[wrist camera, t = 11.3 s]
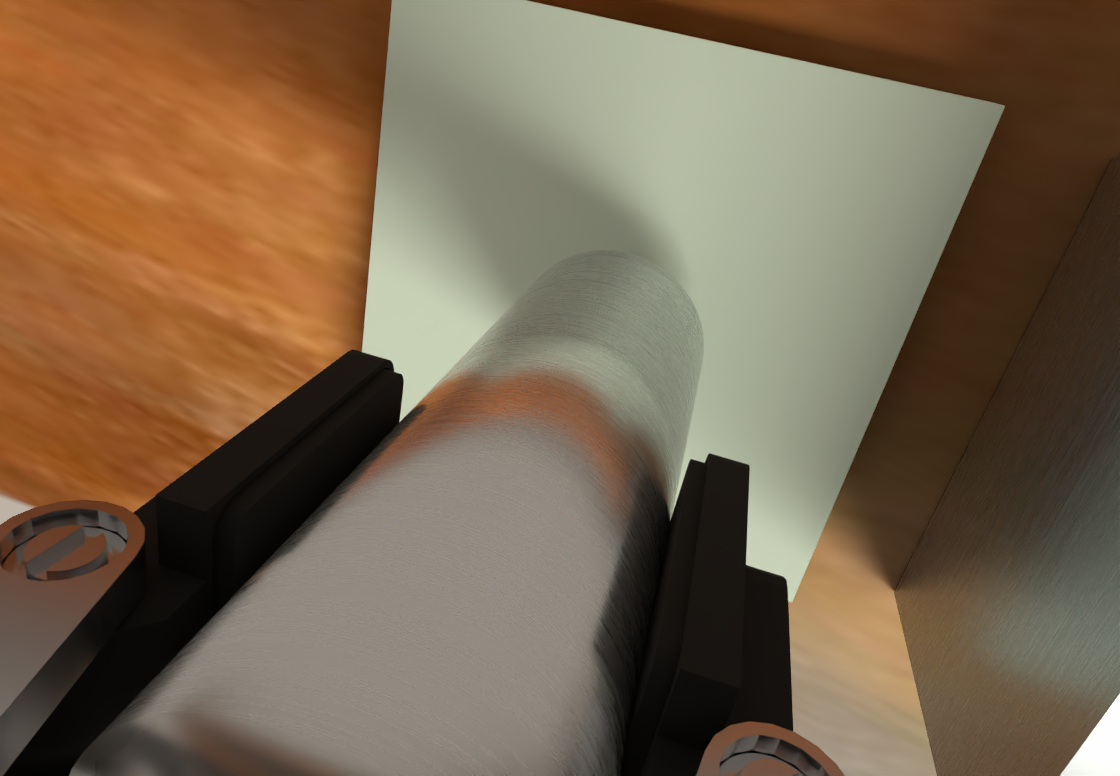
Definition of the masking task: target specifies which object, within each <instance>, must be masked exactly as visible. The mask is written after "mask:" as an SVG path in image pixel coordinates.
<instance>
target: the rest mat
mask: <svg viewBox="0 0 1120 776" xmlns="http://www.w3.org/2000/svg"><path fill="white" fill-rule="evenodd" d="M1004 108H1005V106H1004V105H1001V104H997V103H993V102H989V101H985V100H980V99H975V98H971V97H966V96H962V95H957V94H953V93H948V92H944V91H939V90H934V89H930V88H925V87H921V86H916V85H912V84H907V83H903V82H898V81H893V80H889V79H884V78H880V77H875V76H871V75H866V74H861V73H857V72H852V71H848V70H843V69H839V68H834V67H830V66H825V65H820V64H816V63H811V62H807V61H802V60H798V59H793V58H789V57H784V56H779V55H775V54H770V53H766V52H761V51H757V50H752V49H748V48H743V47H738V46H734V45H729V44H725V43H720V42H716V41H711V40H707V39H702V38H697V37H693V36H688V35H684V34H679V33H675V32H670V31H666V30H661V29H656V28H652V27H647V26H643V25H638V24H634V23H629V22H624V21H620V20H615V19H611V18H606V17H602V16H597V15H593V14H588V13H583V12H579V11H574V10H570V9H565V8H561V7H556V6H552V5H547V4H542V3H538V2H533V1H529V0H392V5H391V17H390V29H389V40H388V52H387V64H386V76H385V87H384V99H383V111H382V122H381V134H380V146H379V158H378V169H377V181H376V193H375V204H374V216H373V228H372V240H371V251H370V263H369V275H368V286H367V298H366V310H365V322H364V333H363V345H362V352H363V353H367V354H370V355H374V356H377V357H381V358H384V359H387V360H391V361H392V363H393V366H394V372H396V373H400V374H402V376H403V380H404V385H403V395H402V403H401V412H400V421H401V420H402V419H403V418H404V417H405V416H406V415H407V414H408V413H409V412H410V411H411V410H412V409H413V408H414V407H415V406H416V405H417V404H418V403H419V402H420V401H421V399H422V398H423V397H424V396H425V395H426V394H427V393H428V392H429V391H430V390H431V389H432V388H433V387H434V386H435V385H436V384H437V383H438V382H439V381H440V380H441V379H442V378H443V377H444V376H445V374H446V373H447V372H448V371H449V370H450V369H451V368H452V367H453V366H454V365H455V364H456V363H457V362H458V361H459V360H460V359H461V358H462V357H463V356H464V355H465V354H466V353H467V352H468V351H469V349H470V348H471V347H472V346H473V345H474V344H475V343H476V342H477V341H478V340H479V339H480V338H481V337H482V336H483V335H484V334H485V333H486V332H487V331H488V330H489V329H490V328H491V327H492V325H493V324H494V323H495V322H496V321H497V320H498V319H499V318H500V317H501V316H502V315H503V314H504V313H505V312H506V311H507V310H508V309H509V308H510V307H511V306H512V305H513V304H514V303H515V302H516V300H517V299H518V298H519V297H520V296H521V295H522V294H523V293H524V292H525V291H526V290H527V289H528V288H529V287H530V286H531V285H532V284H533V283H534V282H535V281H536V280H537V279H538V278H539V277H540V276H541V275H542V274H543V273H544V272H545V271H546V270H547V269H549V268H550V267H552V266H553V265H555V264H556V263H558V262H560V261H562V260H564V259H566V258H568V257H571V256H574V255H576V254H580V253H585V252H590V251H601V250H606V251H618V252H624V253H629V254H632V255H635V256H638V257H641V258H643V259H646V260H648V261H650V262H652V263H654V264H655V265H657V266H659V267H660V268H662V269H663V270H665V271H666V272H667V273H668V274H669V275H671V276H672V277H673V278H674V279H675V280H676V281H677V282H678V283H679V284H680V285H681V286H682V287H683V289H684V290H685V291H686V293H687V294H688V296H689V297H690V299H691V300H692V302H693V304H694V306H695V308H696V310H697V313H698V315H699V318H700V321H701V325H702V330H703V335H704V355H703V362H702V367H701V372H700V378H699V383H698V388H697V393H696V398H695V403H694V408H693V413H692V418H691V423H690V428H689V433H688V438H687V443H686V448H685V453H684V458H683V463H682V468H681V473H680V478H679V484H678V489H677V494H676V499H675V504H674V508H675V505H676V501H677V498H678V495H679V492H680V489H681V486H682V483H683V479H684V476H685V473H686V470H687V467H688V464H689V461H690V459H693V460H697V461H700V462H703V463H705V461H706V458H707V456H708V454H709V453H710V454H714V455H717V456H721V457H724V458H728V459H731V460H734V461H738V462H741V463H745V464H748V465H749V466H750V473H749V499H748V524H747V549H746V565H748V566H751V567H754V568H757V569H761V570H764V571H767V572H770V573H774V574H777V575H780V576H783V577H784V578H785V579H786V581H787V587H788V601H789V602H792V601H793V598H794V596H795V594H796V591H797V589H798V587H799V584H800V582H801V580H802V578H803V575H804V573H805V571H806V568H807V566H808V564H809V561H810V559H811V557H812V554H813V552H814V550H815V547H816V545H817V543H818V540H819V538H820V536H821V533H822V531H823V529H824V526H825V524H826V522H827V519H828V517H829V515H830V512H831V510H832V508H833V505H834V503H835V501H836V498H837V496H838V494H839V491H840V489H841V487H842V484H843V482H844V480H845V477H846V475H847V473H848V471H849V468H850V466H851V464H852V461H853V459H854V457H855V454H856V452H857V450H858V447H859V445H860V443H861V440H862V438H863V436H864V433H865V431H866V429H867V426H868V424H869V422H870V419H871V417H872V415H873V412H874V410H875V408H876V405H877V403H878V401H879V398H880V396H881V394H882V391H883V389H884V387H885V384H886V382H887V380H888V377H889V375H890V373H891V370H892V368H893V366H894V364H895V361H896V359H897V357H898V354H899V352H900V350H901V347H902V345H903V343H904V340H905V338H906V336H907V333H908V331H909V329H910V326H911V324H912V322H913V319H914V317H915V315H916V312H917V310H918V308H919V305H920V303H921V301H922V298H923V296H924V294H925V291H926V289H927V287H928V284H929V282H930V280H931V277H932V275H933V273H934V270H935V268H936V266H937V264H938V261H939V259H940V257H941V254H942V252H943V250H944V247H945V245H946V243H947V240H948V238H949V236H950V233H951V231H952V229H953V226H954V224H955V222H956V219H957V217H958V215H959V212H960V210H961V208H962V205H963V203H964V201H965V198H966V196H967V194H968V191H969V189H970V187H971V184H972V182H973V180H974V177H975V175H976V173H977V170H978V168H979V166H980V163H981V161H982V159H983V157H984V154H985V152H986V150H987V147H988V145H989V143H990V140H991V138H992V136H993V133H994V131H995V129H996V126H997V124H998V122H999V119H1000V117H1001V115H1002V112H1003V110H1004ZM400 421H399V422H400ZM673 511H674V509H673Z"/></svg>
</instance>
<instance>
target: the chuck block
mask: <svg viewBox="0 0 1120 776" xmlns="http://www.w3.org/2000/svg"><path fill="white" fill-rule="evenodd" d="M894 594H895V598H896V603H897V607H898V611H899V615H900V620H901V624H902V628H903V632H904V637H905V641H906V645H907V649H908V654H909V658H910V662H911V666H912V671H913V675H914V679H915V683H916V688H917V692H918V696H919V700H920V705H921V709H922V713H923V717H924V722H925V726H926V730H927V734H928V739H929V743H930V747H931V751H932V756H933V760H934V764H935V768H936V773H937V776H1120V160H1119V159H1114V158H1113V159H1112V161H1111V163H1110V165H1109V167H1108V169H1107V171H1106V173H1105V175H1104V177H1103V179H1102V181H1101V183H1100V185H1099V187H1098V189H1097V191H1096V193H1095V195H1094V197H1093V199H1092V201H1091V203H1090V205H1089V207H1088V209H1087V211H1086V213H1085V215H1084V217H1083V219H1082V221H1081V223H1080V225H1079V227H1078V229H1077V231H1076V233H1075V235H1074V237H1073V239H1072V241H1071V243H1070V245H1069V247H1068V249H1067V251H1066V253H1065V255H1064V257H1063V259H1062V261H1061V263H1060V265H1059V267H1058V269H1057V270H1056V272H1055V274H1054V276H1053V278H1052V280H1051V282H1050V284H1049V286H1048V288H1047V290H1046V292H1045V294H1044V296H1043V298H1042V300H1041V302H1040V304H1039V306H1038V308H1037V310H1036V312H1035V314H1034V316H1033V318H1032V320H1031V322H1030V324H1029V326H1028V328H1027V330H1026V332H1025V334H1024V336H1023V338H1022V340H1021V342H1020V344H1019V346H1018V348H1017V350H1016V352H1015V354H1014V356H1013V358H1012V360H1011V362H1010V364H1009V366H1008V368H1007V370H1006V372H1005V374H1004V376H1003V378H1002V380H1001V382H1000V384H999V386H998V387H997V389H996V391H995V393H994V395H993V397H992V399H991V401H990V403H989V405H988V407H987V409H986V411H985V413H984V415H983V417H982V419H981V421H980V423H979V425H978V427H977V429H976V431H975V433H974V435H973V437H972V439H971V441H970V443H969V445H968V447H967V449H966V451H965V453H964V455H963V457H962V459H961V461H960V463H959V465H958V467H957V469H956V471H955V473H954V475H953V477H952V479H951V481H950V483H949V485H948V487H947V489H946V491H945V493H944V495H943V497H942V499H941V501H940V503H939V505H938V506H937V508H936V510H935V512H934V514H933V516H932V518H931V520H930V522H929V524H928V526H927V528H926V530H925V532H924V534H923V536H922V538H921V540H920V542H919V544H918V546H917V548H916V550H915V552H914V554H913V556H912V558H911V560H910V562H909V564H908V566H907V568H906V570H905V572H904V574H903V576H902V578H901V580H900V582H899V584H898V586H897V588H896V590H895V592H894Z"/></svg>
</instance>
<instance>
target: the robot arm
mask: <svg viewBox="0 0 1120 776" xmlns="http://www.w3.org/2000/svg"><path fill="white" fill-rule="evenodd" d="M403 385H404V380H403V376H402V374H400V373H396V372H394V366H393V363H392V361H391V360H387V359H384V358H381V357H377V356H374V355H370V354H367V353H363V352H360V351H357V350H351V351H349V352H347V353H346V354H344V355H343V356H342V357H340V358H339V359H338V360H336V361H335V362H334V363H332V364H331V365H330V366H328V367H327V368H326V369H324V370H323V371H322V372H320V373H319V374H318V375H316V376H315V377H314V378H312V379H311V380H310V381H308V382H307V383H306V384H304V385H303V386H301V387H300V388H299V389H297V390H296V391H295V392H293V393H292V394H291V395H289V396H288V397H287V398H285V399H284V400H283V401H281V402H280V403H279V404H277V405H276V406H275V407H273V408H272V409H271V410H269V411H268V412H267V413H265V414H264V415H263V416H261V417H260V418H259V419H257V420H256V421H255V422H253V423H252V424H250V425H249V426H248V427H246V428H245V429H244V430H242V431H241V432H240V433H238V434H237V435H236V436H234V437H233V438H232V439H230V440H229V441H228V442H226V443H225V444H224V445H222V446H221V447H220V448H218V449H217V450H216V451H214V452H213V453H212V454H210V455H209V456H208V457H206V458H205V459H204V460H202V461H201V462H199V463H198V464H197V465H195V466H194V467H193V468H191V469H190V470H189V471H187V472H186V473H185V474H183V475H182V476H181V477H179V478H178V479H177V480H175V481H174V482H173V483H171V484H170V485H169V486H167V487H166V488H165V489H163V490H162V491H161V492H159V493H158V494H157V495H155V497H154V498H153V499H151V500H150V501H149V502H147V503H146V504H145V505H143V506H142V507H140V508H139V509H138V510H136V511H135V512H134V513H132V512H131V511H129V510H128V509H126V508H125V507H122V506H118V505H115V504H112V503H108V502H103V501H91V500H75V501H63V502H56V503H52V504H48V505H44V506H40V507H35V508H33V509H30V510H28V511H25V512H23V513H21V514H18V515H16V516H13V517H12V518H10V519H8V520H7V521H6V522H4V523H3V524H1V525H0V776H69V775H70V772H71V769H72V768H73V766H74V765H75V763H76V762H77V760H78V759H79V757H80V756H81V754H82V753H83V752H84V751H85V750H86V749H87V748H88V746H89V745H90V744H91V743H92V742H93V741H94V740H95V739H96V738H97V737H98V736H99V735H100V734H101V733H102V732H103V731H104V730H105V729H106V728H107V727H108V726H109V725H110V724H111V722H112V721H113V720H114V719H115V718H116V717H117V716H118V715H119V714H120V713H121V712H122V711H123V710H124V709H125V708H126V707H127V706H128V705H129V704H130V703H131V702H132V701H133V700H134V699H135V697H136V696H137V695H138V694H139V693H140V692H141V691H142V690H143V689H144V688H145V687H146V686H147V685H148V684H149V683H150V682H151V681H152V680H153V679H154V678H155V677H156V676H157V675H158V674H159V672H160V671H161V670H162V669H163V668H164V667H165V666H166V665H167V664H168V663H169V662H170V661H171V660H172V659H173V658H174V657H175V656H176V655H177V654H178V653H179V652H180V651H181V650H182V649H183V647H184V646H185V645H186V644H187V643H188V642H189V641H190V640H191V639H192V638H193V637H194V636H195V635H196V634H197V633H198V632H199V631H200V630H201V629H202V628H203V627H204V626H205V625H206V624H207V622H208V621H209V620H210V619H211V618H212V617H213V616H214V615H215V614H216V613H217V612H218V611H219V610H220V609H221V608H222V607H223V606H224V605H225V604H226V603H227V602H228V601H229V600H230V598H231V597H232V596H233V595H234V594H235V593H236V592H237V591H238V590H239V589H240V588H241V587H242V586H243V585H244V584H245V583H246V582H247V581H248V580H249V579H250V578H251V577H252V576H253V575H254V573H255V572H256V571H257V570H258V569H259V568H260V567H261V566H262V565H263V564H264V563H265V562H266V561H267V560H268V559H269V558H270V557H271V556H272V555H273V554H274V553H275V552H276V551H277V550H278V548H279V547H280V546H281V545H282V544H283V543H284V542H285V541H286V540H287V539H288V538H289V537H290V536H291V535H292V534H293V533H294V532H295V531H296V530H297V529H298V528H299V527H300V526H301V525H302V523H303V522H304V521H305V520H306V519H307V518H308V517H309V516H310V515H311V514H312V513H313V512H314V511H315V510H316V509H317V508H318V507H319V506H320V505H321V504H322V503H323V502H324V501H325V500H326V498H327V497H328V496H329V495H330V494H331V493H332V492H333V491H334V490H335V489H336V488H337V487H338V486H339V485H340V484H341V483H342V482H343V481H344V480H345V479H346V478H347V477H348V476H349V475H350V473H351V472H352V471H353V470H354V469H355V468H356V467H357V466H358V465H359V464H360V463H361V462H362V461H363V460H364V459H365V458H366V457H367V456H368V455H369V454H370V453H371V452H372V451H373V449H374V448H375V447H376V446H377V445H378V444H379V443H380V442H381V441H382V440H383V439H384V438H385V437H386V436H387V435H388V434H389V433H390V432H391V431H392V430H393V429H394V428H395V427H396V426H397V424H398V423H399V421H400V412H401V403H402V395H403ZM749 473H750V466H749V465H748V464H745V463H741V462H738V461H734V460H731V459H728V458H724V457H721V456H717V455H714V454H710V453H709V454H708V456H707V458H706V461H705V463H703V462H700V461H697V460H693V459H690V461H689V464H688V467H687V470H686V473H685V476H684V479H683V483H682V486H681V489H680V492H679V495H678V498H677V501H676V505H675V508H674V511H673V514H672V517H671V520H670V525H669V530H668V535H667V540H666V545H665V550H664V555H663V560H662V565H661V570H660V575H659V580H658V585H657V590H656V595H655V600H654V605H653V610H652V615H651V620H650V625H649V630H648V635H647V640H646V645H645V650H644V655H643V660H642V665H641V670H640V675H639V680H638V684H637V689H636V694H635V699H634V704H633V709H632V714H631V719H630V724H629V729H628V734H627V739H626V744H625V749H624V761H623V766H622V771H621V776H844V774H843V773H842V771H841V770H840V769H839V767H838V766H837V764H836V763H835V762H833V761H832V760H831V759H830V758H829V757H828V756H827V755H826V754H825V753H824V752H823V751H822V750H821V749H819V748H818V747H817V746H816V745H814V744H813V743H811V742H810V741H808V740H806V739H805V738H803V737H802V736H800V735H798V734H797V733H795V732H793V716H792V689H791V663H790V637H789V611H788V587H787V581H786V579H785V578H784V577H783V576H780V575H777V574H774V573H770V572H767V571H764V570H761V569H757V568H754V567H751V566H748V565H746V549H747V524H748V499H749Z"/></svg>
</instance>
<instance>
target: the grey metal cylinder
mask: <svg viewBox="0 0 1120 776" xmlns="http://www.w3.org/2000/svg"><path fill="white" fill-rule="evenodd" d="M703 355H704V335H703V330H702V325H701V321H700V318H699V315H698V313H697V310H696V308H695V306H694V304H693V302H692V300H691V299H690V297H689V296H688V294H687V293H686V291H685V290H684V289H683V287H682V286H681V285H680V284H679V283H678V282H677V281H676V280H675V279H674V278H673V277H672V276H671V275H669V274H668V273H667V272H666V271H665V270H663V269H662V268H660V267H659V266H657V265H655V264H654V263H652V262H650V261H648V260H646V259H643V258H641V257H638V256H635V255H632V254H629V253H624V252H618V251H606V250H601V251H590V252H585V253H580V254H576V255H574V256H571V257H568V258H566V259H564V260H562V261H560V262H558V263H556V264H555V265H553V266H552V267H550V268H549V269H547V270H546V271H545V272H544V273H543V274H542V275H541V276H540V277H539V278H538V279H537V280H536V281H535V282H534V283H533V284H532V285H531V286H530V287H529V288H528V289H527V290H526V291H525V292H524V293H523V294H522V295H521V296H520V297H519V298H518V299H517V300H516V302H515V303H514V304H513V305H512V306H511V307H510V308H509V309H508V310H507V311H506V312H505V313H504V314H503V315H502V316H501V317H500V318H499V319H498V320H497V321H496V322H495V323H494V324H493V325H492V327H491V328H490V329H489V330H488V331H487V332H486V333H485V334H484V335H483V336H482V337H481V338H480V339H479V340H478V341H477V342H476V343H475V344H474V345H473V346H472V347H471V348H470V349H469V351H468V352H467V353H466V354H465V355H464V356H463V357H462V358H461V359H460V360H459V361H458V362H457V363H456V364H455V365H454V366H453V367H452V368H451V369H450V370H449V371H448V372H447V373H446V374H445V376H444V377H443V378H442V379H441V380H440V381H439V382H438V383H437V384H436V385H435V386H434V387H433V388H432V389H431V390H430V391H429V392H428V393H427V394H426V395H425V396H424V397H423V398H422V399H421V401H420V402H419V403H418V404H417V405H416V406H415V407H414V408H413V409H412V410H411V411H410V412H409V413H408V414H407V415H406V416H405V417H404V418H403V419H402V420H401V421H400V422H399V423H398V424H397V426H396V427H395V428H394V429H393V430H392V431H391V432H390V433H389V434H388V435H387V436H386V437H385V438H384V439H383V440H382V441H381V442H380V443H379V444H378V445H377V446H376V447H375V448H374V449H373V451H372V452H371V453H370V454H369V455H368V456H367V457H366V458H365V459H364V460H363V461H362V462H361V463H360V464H359V465H358V466H357V467H356V468H355V469H354V470H353V471H352V472H351V473H350V475H349V476H348V477H347V478H346V479H345V480H344V481H343V482H342V483H341V484H340V485H339V486H338V487H337V488H336V489H335V490H334V491H333V492H332V493H331V494H330V495H329V496H328V497H327V498H326V500H325V501H324V502H323V503H322V504H321V505H320V506H319V507H318V508H317V509H316V510H315V511H314V512H313V513H312V514H311V515H310V516H309V517H308V518H307V519H306V520H305V521H304V522H303V523H302V525H301V526H300V527H299V528H298V529H297V530H296V531H295V532H294V533H293V534H292V535H291V536H290V537H289V538H288V539H287V540H286V541H285V542H284V543H283V544H282V545H281V546H280V547H279V548H278V550H277V551H276V552H275V553H274V554H273V555H272V556H271V557H270V558H269V559H268V560H267V561H266V562H265V563H264V564H263V565H262V566H261V567H260V568H259V569H258V570H257V571H256V572H255V573H254V575H253V576H252V577H251V578H250V579H249V580H248V581H247V582H246V583H245V584H244V585H243V586H242V587H241V588H240V589H239V590H238V591H237V592H236V593H235V594H234V595H233V596H232V597H231V598H230V600H229V601H228V602H227V603H226V604H225V605H224V606H223V607H222V608H221V609H220V610H219V611H218V612H217V613H216V614H215V615H214V616H213V617H212V618H211V619H210V620H209V621H208V622H207V624H206V625H205V626H204V627H203V628H202V629H201V630H200V631H199V632H198V633H197V634H196V635H195V636H194V637H193V638H192V639H191V640H190V641H189V642H188V643H187V644H186V645H185V646H184V647H183V649H182V650H181V651H180V652H179V653H178V654H177V655H176V656H175V657H174V658H173V659H172V660H171V661H170V662H169V663H168V664H167V665H166V666H165V667H164V668H163V669H162V670H161V671H160V672H159V674H158V675H157V676H156V677H155V678H154V679H153V680H152V681H151V682H150V683H149V684H148V685H147V686H146V687H145V688H144V689H143V690H142V691H141V692H140V693H139V694H138V695H137V696H136V697H135V699H134V700H133V701H132V702H131V703H130V704H129V705H128V706H127V707H126V708H125V709H124V710H123V711H122V712H121V713H120V714H119V715H118V716H117V717H116V718H115V719H114V720H113V721H112V722H111V724H110V725H109V726H108V727H107V728H106V729H105V730H104V731H103V732H102V733H101V734H100V735H99V736H98V737H97V738H96V739H95V740H94V741H93V742H92V743H91V744H90V745H89V746H88V748H87V749H86V750H85V751H84V752H83V753H82V754H81V756H80V757H79V759H78V760H77V762H76V763H75V765H74V766H73V768H72V769H71V772H70V775H69V776H621V771H622V766H623V761H624V749H625V744H626V739H627V734H628V729H629V724H630V719H631V714H632V709H633V704H634V699H635V694H636V689H637V684H638V680H639V675H640V670H641V665H642V660H643V655H644V650H645V645H646V640H647V635H648V630H649V625H650V620H651V615H652V610H653V605H654V600H655V595H656V590H657V585H658V580H659V575H660V570H661V565H662V560H663V555H664V550H665V545H666V540H667V535H668V530H669V525H670V520H671V517H672V514H673V509H674V504H675V499H676V494H677V489H678V484H679V478H680V473H681V468H682V463H683V458H684V453H685V448H686V443H687V438H688V433H689V428H690V423H691V418H692V413H693V408H694V403H695V398H696V393H697V388H698V383H699V378H700V372H701V367H702V362H703Z"/></svg>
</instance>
